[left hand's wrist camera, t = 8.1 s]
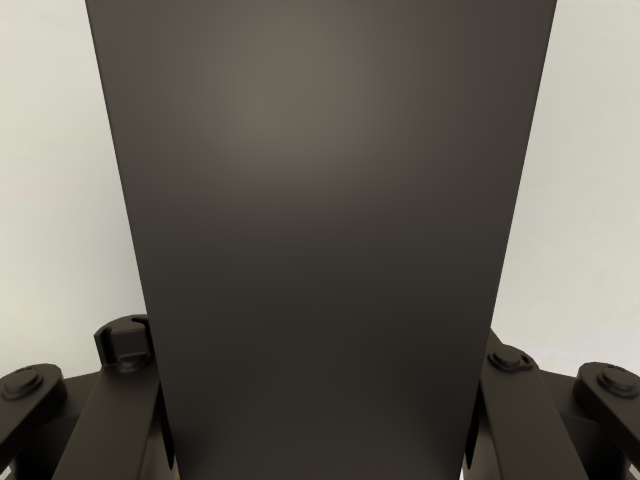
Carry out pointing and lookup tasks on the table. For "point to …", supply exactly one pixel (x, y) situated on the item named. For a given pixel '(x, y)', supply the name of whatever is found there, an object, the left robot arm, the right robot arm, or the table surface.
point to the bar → (320, 219)
